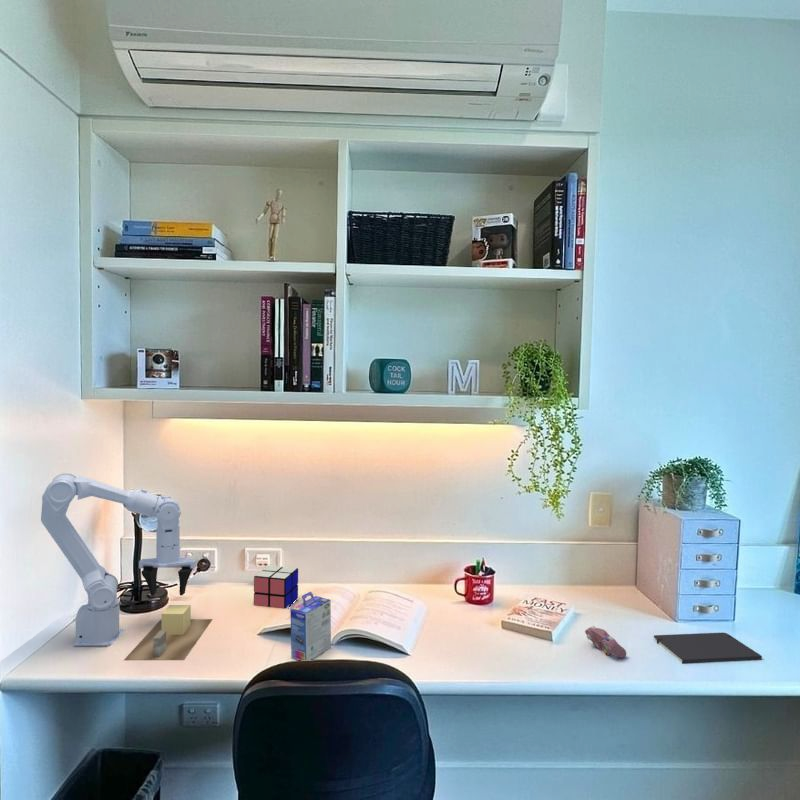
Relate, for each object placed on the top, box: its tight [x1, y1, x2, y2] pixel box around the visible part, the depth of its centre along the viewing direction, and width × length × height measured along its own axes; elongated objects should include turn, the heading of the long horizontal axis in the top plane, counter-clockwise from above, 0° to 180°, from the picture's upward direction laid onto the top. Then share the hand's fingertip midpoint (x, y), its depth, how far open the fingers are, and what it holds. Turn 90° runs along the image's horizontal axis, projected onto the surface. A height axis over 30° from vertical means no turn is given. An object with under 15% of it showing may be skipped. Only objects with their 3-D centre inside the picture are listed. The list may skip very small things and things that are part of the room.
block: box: [161, 604, 192, 635], centre depth 144 cm, size 6×6×6 cm
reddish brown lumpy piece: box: [584, 625, 627, 659], centre depth 138 cm, size 10×5×7 cm, turn 22°
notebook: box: [653, 632, 763, 665], centre depth 141 cm, size 13×2×21 cm
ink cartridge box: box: [289, 591, 332, 661], centre depth 135 cm, size 10×6×14 cm, turn 149°
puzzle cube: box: [253, 565, 299, 610], centre depth 164 cm, size 10×10×10 cm
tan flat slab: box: [123, 618, 213, 661], centre depth 139 cm, size 14×22×6 cm, turn 2°
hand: (167, 594), depth 147 cm, fingers open, 7 cm apart
